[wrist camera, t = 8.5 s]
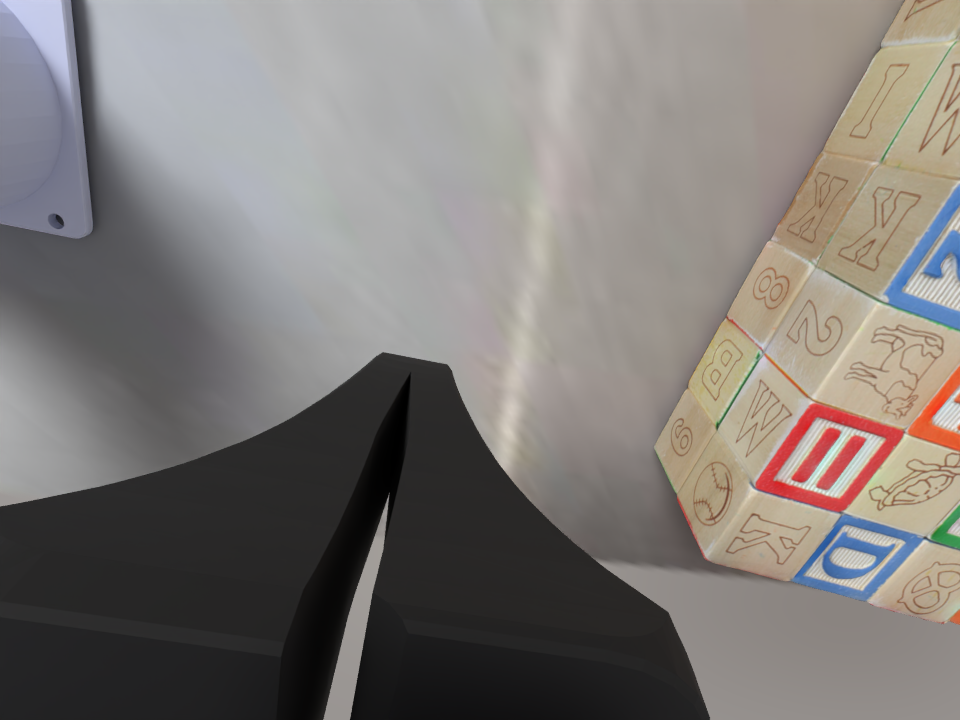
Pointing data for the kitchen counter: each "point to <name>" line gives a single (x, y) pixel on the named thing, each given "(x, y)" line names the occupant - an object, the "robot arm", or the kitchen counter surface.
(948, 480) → the stack of blocks
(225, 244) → the kitchen counter surface
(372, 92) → the kitchen counter surface
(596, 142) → the kitchen counter surface
